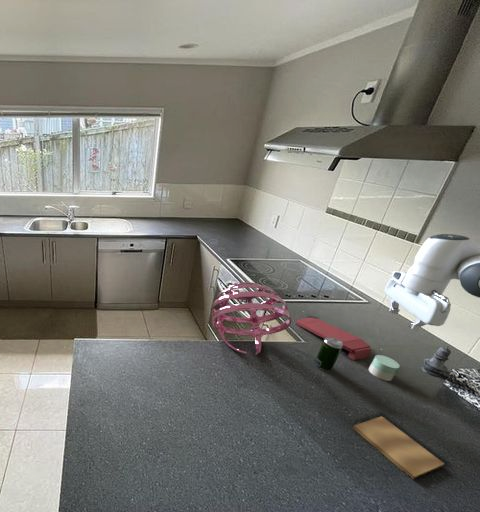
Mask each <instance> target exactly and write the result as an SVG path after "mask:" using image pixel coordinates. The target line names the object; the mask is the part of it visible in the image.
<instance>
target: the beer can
mask: <svg viewBox="0 0 480 512" xmlns="http://www.w3.org/2000/svg"><path fill="white" fill-rule="evenodd" d="M342 345H343V343H342V342H341V341H340V340H338V339H336V338H333V337H326V339H324V338H323V341H322V344H321V345H320V349H319V350H318V353H317V355H316V357H315V359H314V365H315V367H316V368H318V369H319V370H321V371H323V372H330V371H332V370H333V368H334V366H335V365H336V362H337V360H338V358H339V356H340V353H341V351H342V349H343V348H342V347H343V346H342Z"/></svg>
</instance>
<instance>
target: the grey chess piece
mask: <svg viewBox="0 0 480 512" xmlns="http://www.w3.org/2000/svg"><path fill="white" fill-rule="evenodd" d="M451 353H452V351H451V349H450V348H449V346H445V347H444V346H441V347H439V348H438V349H437V351H436V352H434V353H433V357H431V358H424V359H423V362H424V363H423V364H424V365H421V366H420V369H421V371H422V372H424V373H426V374H427V375H430V376H432V377H435V378H441V377H442V373H444V372H445V371H448V367H447V366H446V365H445V363H446V362H447V361H449V357H450V355H451Z"/></svg>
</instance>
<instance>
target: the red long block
mask: <svg viewBox="0 0 480 512" xmlns="http://www.w3.org/2000/svg"><path fill="white" fill-rule="evenodd" d="M295 324H296V325H297V326H298V327H301V328H303V329H304V330H307V331H309V332H311V333H312V334H315V335H316V336H317V337H320V338H323V340H324V339H326V337H333V338H336V339H338V340H340V341H341V342H342V343H343V345H342V346H343V347H342V349H344V350H346V351H347V352H348V356H347V357H348V358H349V359H351V360H352V361H357V360H361V359H366V358H370V355H371V351H372V347H371V346H370V344H369V343H367V342H366V341H365V340H363V338H361V337H358V336H357V335H353V334H352V333H350V332H348V331H345V330H343V329H341V328H339V327H337V326H335V325H333V324H331V323H328V322H325V321H323V320H321V319H319V318H316V317H306V318H299V319H297V320H296V321H295Z"/></svg>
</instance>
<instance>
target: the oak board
mask: <svg viewBox="0 0 480 512" xmlns="http://www.w3.org/2000/svg"><path fill="white" fill-rule="evenodd" d="M352 429H353V430H354V431H355V432H356V433H357V434H359V435H360V436H361V437H362V438H363V439H364V440H365V441H367V442H368V443H369V444H370V445H371V446H372V447H374V448H375V449H376V450H377V451H378V452H379V453H380V454H382V455H383V456H384V457H385V458H387V459H388V460H389V461H390V462H391V463H392V464H394V465H395V466H396V467H397V468H398V469H400V470H401V472H403V471H404V472H405V473H406V474H405V473H404V472H403V473H404V474H405V475H407V476H408V475H409V476H410V477H411V478H412V479H411V478H410V477H409V476H408V477H409V478H410V479H411V480H415V479H417V478H419V476H420V477H421V475H422V476H424V475H427V474H429V473H431V472H433V470H434V471H435V470H439V469H440V468H443V467H444V466H445V462H443V461H441V459H439V458H438V457H436V456H435V455H434V454H433V453H432V452H430V451H428V449H426V448H424V446H422V445H421V444H420V443H418V442H417V441H415V440H414V439H413V438H411V436H409V435H408V434H407V433H405V432H404V431H402V430H401V429H399V428H398V427H397V426H395V425H394V424H393V423H391V422H390V421H389V420H388V419H386V418H385V417H383V416H379V417H376V418H373V419H370V420H366V421H364V422H361V423H357V424H354V425H353V427H352ZM428 472H429V473H428ZM426 473H427V474H426ZM414 478H415V479H414Z"/></svg>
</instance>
